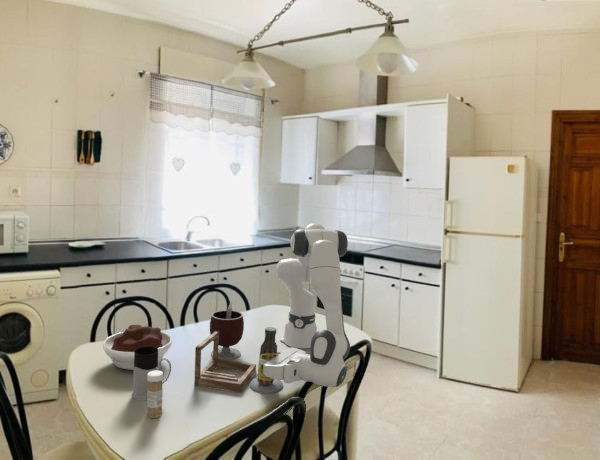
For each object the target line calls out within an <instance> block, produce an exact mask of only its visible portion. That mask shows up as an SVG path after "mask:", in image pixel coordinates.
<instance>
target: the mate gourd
mask: <svg viewBox="0 0 600 460" xmlns="http://www.w3.org/2000/svg"><path fill="white" fill-rule="evenodd" d="M232 305H233V302H230V303H229V305H228V306H227V309H225V310H217V311H214V312H212V313H211V317H210V322H209V334H210V335H211V334H212V333H214V332H215V331H218V332H219V346H220V347H218V359H222V360H229V361H235V360H236V359H239V358H240V357H241V354H242V353H241V351H240V350H239V349H238V348H234V347H233V346H236V345H238V344H239V343H240V341H241V340H242V338H243V336H244V335H243V334H244V330H245V328H244V327H245V322H244V321H245V320H244V314H243V313H242V312H240V311H236V310H233V306H232ZM210 335H209V336H210ZM212 342H214V340H213V341H212ZM210 357H211V358H213V350H212V351H211V352H210Z"/></svg>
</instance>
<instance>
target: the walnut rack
mask: <svg viewBox="0 0 600 460" xmlns="http://www.w3.org/2000/svg"><path fill="white" fill-rule="evenodd" d="M213 340H214V341H213ZM211 343H213V345H212V346H213V349H212V351H213V357H212V360H211V361H210V362H209V363H208V364H207V365H206V366H205V367H204V368H203V369H201V368H202V367H201V365H202V351H203V349H204V348H206V347H207V346H208V345H210V344H211ZM219 348H220V347H219V332H218V331H215V332H214V333H212V334H211V335H209V336H208V337H206V338H205V339H204V340H202V341H201V342H200V343H199V344H198V345H196V346H195V348H194V349H195V353H194V354H195V356H194V384H193V385H194V386H195V387H202V388H206V389H207V388H209V389H214V390H215V389H216V390H223V391H228V392H234V393H241V392H242V391H243V389H245V386H247V384H249V383H250V381H251V380H252V378H253V376H254V375H255V373H256V372H257V363H249V362H244V361H243V362H242V361H237V360H236V361H235V360H222V359H218V349H219ZM216 369H223V370H229V371H237V372H243V373H244V374H243V375H242V376H241V378H240V379H238V382H236V381H229V380H222V379H216V378H209V377H202V376H203V373H206V371H210V372H215V370H216Z"/></svg>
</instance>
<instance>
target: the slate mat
mask: <svg viewBox="0 0 600 460" xmlns="http://www.w3.org/2000/svg"><path fill="white" fill-rule="evenodd" d="M257 378H258V377H256V378H253V379H250V380H249V383H248V384H249V388H250V389H251V390H252V391H254V392H256V393H261V394H274V393H278V392H280V391H281V390H282V389H283V387H284V383H283V382H282V381H283V380H277V379H274V381H273V383H272V384H269V385H263V384H260V383H259V382H258V381H257Z"/></svg>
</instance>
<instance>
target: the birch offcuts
mask: <svg viewBox="0 0 600 460" xmlns="http://www.w3.org/2000/svg"><path fill="white" fill-rule="evenodd" d="M202 377H209V378H216V379H222V380H229V381H236V382H238V381H239V378H237V377H236V375H235V374H230V373H223V372H216V371H213V372H210V371H206V373H203V376H202Z"/></svg>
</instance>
